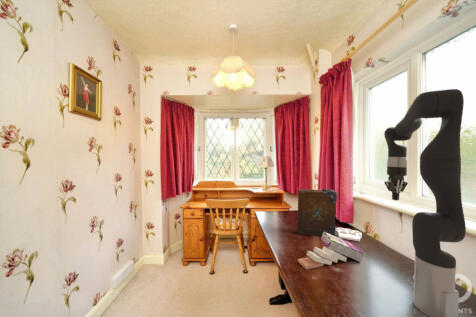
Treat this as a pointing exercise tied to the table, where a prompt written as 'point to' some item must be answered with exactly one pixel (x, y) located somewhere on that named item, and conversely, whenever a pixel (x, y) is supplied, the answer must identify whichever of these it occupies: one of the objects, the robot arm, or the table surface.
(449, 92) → the robot arm
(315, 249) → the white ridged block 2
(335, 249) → the candy bar box
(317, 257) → the domino
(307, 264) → the domino
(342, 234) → the white brass knuckles
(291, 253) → the table surface
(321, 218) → the decorative book
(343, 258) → the domino
